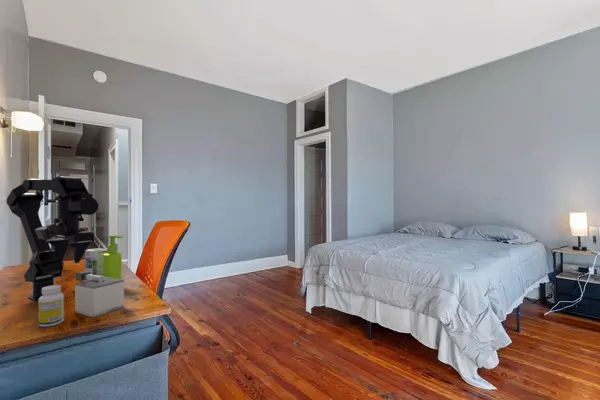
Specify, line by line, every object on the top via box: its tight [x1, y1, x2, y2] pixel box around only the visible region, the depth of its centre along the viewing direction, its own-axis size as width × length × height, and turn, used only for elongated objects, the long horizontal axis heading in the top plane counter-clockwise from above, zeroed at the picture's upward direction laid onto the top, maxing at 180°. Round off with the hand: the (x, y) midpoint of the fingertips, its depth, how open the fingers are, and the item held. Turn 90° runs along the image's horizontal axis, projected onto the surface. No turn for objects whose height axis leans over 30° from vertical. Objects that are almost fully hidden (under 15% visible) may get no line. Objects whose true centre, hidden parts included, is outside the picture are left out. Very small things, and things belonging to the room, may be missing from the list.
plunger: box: [75, 270, 103, 283], centre depth 94 cm, size 11×3×8 cm, turn 65°
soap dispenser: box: [103, 234, 124, 279], centre depth 115 cm, size 6×7×20 cm
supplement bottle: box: [37, 284, 65, 328], centre depth 82 cm, size 5×5×10 cm
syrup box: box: [84, 248, 107, 281], centre depth 117 cm, size 6×6×14 cm
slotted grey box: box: [74, 277, 125, 318], centre depth 92 cm, size 9×9×9 cm
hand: (68, 261), depth 100 cm, fingers open, 9 cm apart
